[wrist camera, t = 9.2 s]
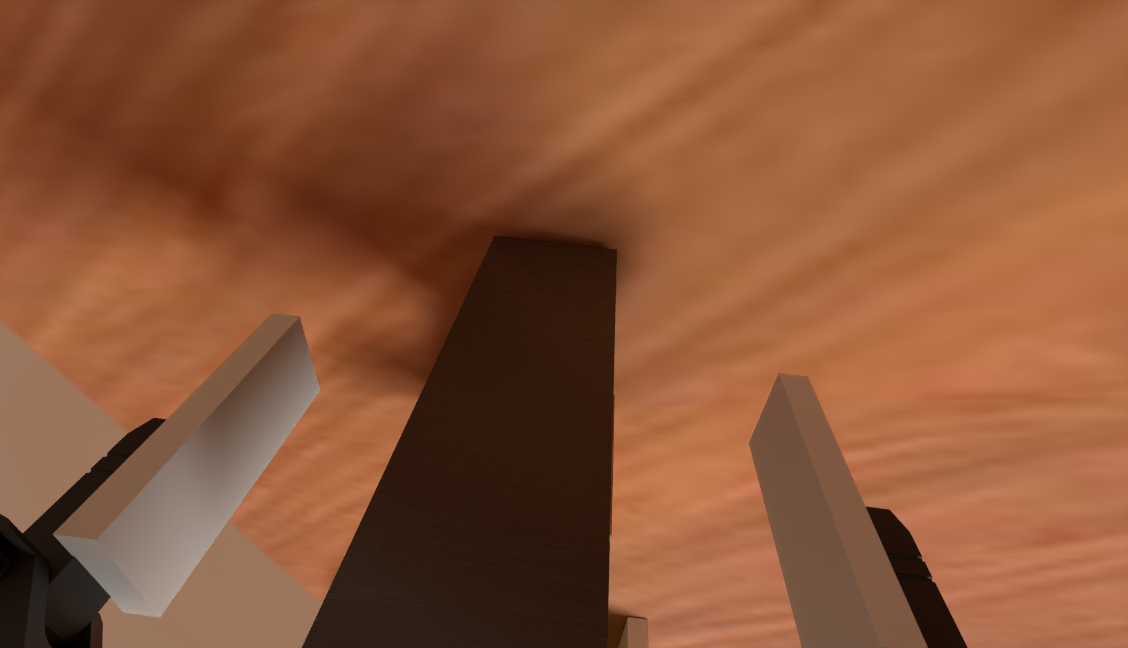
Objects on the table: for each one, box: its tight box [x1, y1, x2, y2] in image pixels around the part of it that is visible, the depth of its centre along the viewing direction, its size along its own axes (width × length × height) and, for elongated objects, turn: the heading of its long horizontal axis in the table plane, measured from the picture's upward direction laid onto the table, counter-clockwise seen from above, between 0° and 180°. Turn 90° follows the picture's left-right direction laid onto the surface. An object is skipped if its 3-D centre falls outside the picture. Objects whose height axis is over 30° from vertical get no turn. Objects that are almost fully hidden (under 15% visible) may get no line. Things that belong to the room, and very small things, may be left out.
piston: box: [302, 236, 617, 648], centre depth 18 cm, size 23×7×13 cm, turn 176°
